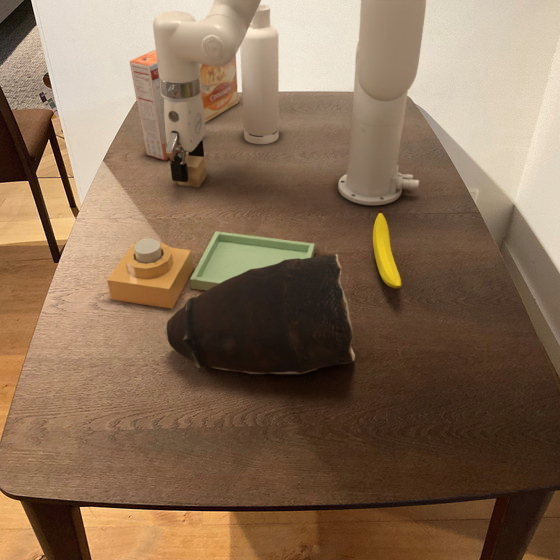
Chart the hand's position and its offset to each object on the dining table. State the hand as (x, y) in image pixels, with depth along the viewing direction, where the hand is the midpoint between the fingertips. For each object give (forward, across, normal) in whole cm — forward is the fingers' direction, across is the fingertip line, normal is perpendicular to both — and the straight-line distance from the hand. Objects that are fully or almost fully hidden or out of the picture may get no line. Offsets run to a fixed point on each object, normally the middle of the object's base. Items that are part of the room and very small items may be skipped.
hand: (188, 169), depth 117 cm
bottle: (+3, +23, -10) cm, 25 cm away
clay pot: (+2, -44, -26) cm, 51 cm away
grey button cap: (-3, -33, -5) cm, 33 cm away
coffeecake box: (+3, +35, +6) cm, 36 cm away
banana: (+2, -22, -42) cm, 47 cm away
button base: (+3, -33, -6) cm, 33 cm away
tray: (+2, -26, -20) cm, 33 cm away
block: (+3, 0, 0) cm, 3 cm away
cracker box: (+3, +14, +8) cm, 17 cm away
